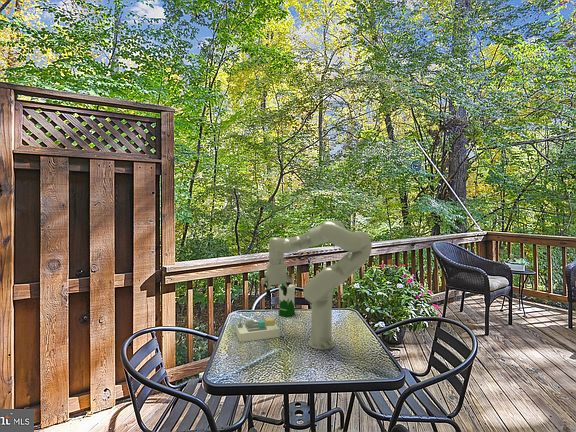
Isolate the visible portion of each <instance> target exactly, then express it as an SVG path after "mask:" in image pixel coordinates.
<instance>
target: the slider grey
mask: <svg viewBox="0 0 576 432" xmlns="http://www.w3.org/2000/svg"><path fill="white" fill-rule="evenodd" d="M245 323H246V325H247V326H251V325H253V323H254V319H253V318H246V319H245Z"/></svg>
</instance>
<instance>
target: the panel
mask: <svg viewBox="0 0 576 432" xmlns="http://www.w3.org/2000/svg"><path fill="white" fill-rule="evenodd" d="M242 319H243V317H242V316H239V320H238V321H239V322H238V324H235V334H236V336H237V339H238V340H239V343H244V342H251V341H258V340H266V339H274V338H280V337H281V336H280V335H281V328H280V327H278V325H277V323H275V325H272V326H266V325H265V328H258V321H256V322H254V321H253V325H251V326H247V325H246V322H245V324H243V323H242V321H243V320H242Z"/></svg>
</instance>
